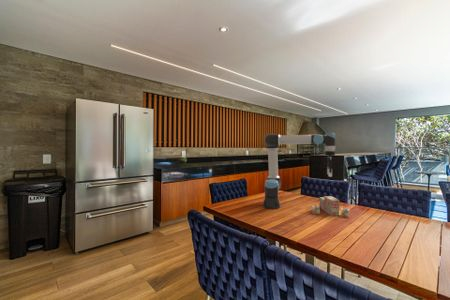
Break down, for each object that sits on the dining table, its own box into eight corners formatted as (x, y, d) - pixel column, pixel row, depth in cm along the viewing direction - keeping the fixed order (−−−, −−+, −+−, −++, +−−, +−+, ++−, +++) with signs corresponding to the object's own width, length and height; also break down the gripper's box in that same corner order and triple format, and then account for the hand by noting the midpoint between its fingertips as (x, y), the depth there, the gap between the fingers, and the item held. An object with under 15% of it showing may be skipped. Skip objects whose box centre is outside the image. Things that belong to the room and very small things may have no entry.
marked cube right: (341, 216, 164) (341, 209, 164) (341, 214, 168) (341, 207, 168) (348, 217, 162) (349, 210, 161) (348, 215, 166) (348, 208, 166)
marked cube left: (312, 213, 171) (312, 206, 171) (311, 211, 176) (311, 205, 176) (319, 213, 170) (319, 207, 170) (318, 211, 175) (318, 205, 175)
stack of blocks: (319, 207, 186) (319, 193, 186) (326, 207, 186) (326, 193, 186) (331, 215, 165) (331, 200, 165) (339, 215, 165) (339, 200, 165)
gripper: (336, 151, 171) (336, 177, 171) (333, 150, 194) (333, 173, 194) (326, 151, 173) (325, 177, 174) (324, 150, 197) (324, 173, 197)
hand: (329, 175), depth 184 cm, fingers open, 13 cm apart
